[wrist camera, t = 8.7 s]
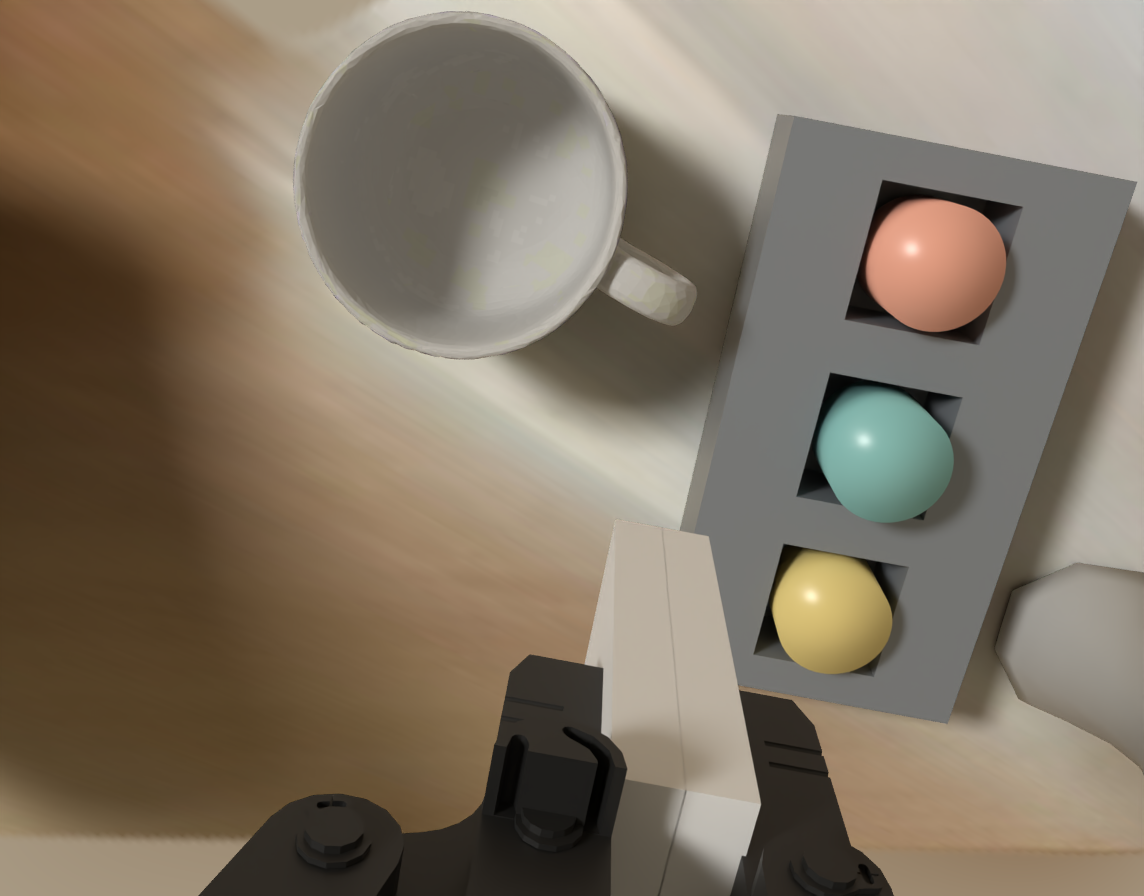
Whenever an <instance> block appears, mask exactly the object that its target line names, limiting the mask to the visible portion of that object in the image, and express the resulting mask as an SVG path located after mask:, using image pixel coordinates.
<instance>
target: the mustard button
mask: <svg viewBox="0 0 1144 896" xmlns="http://www.w3.org/2000/svg"><path fill="white" fill-rule="evenodd" d="M768 601H769V605H770V608H771V611H772V615H773V618H774V622H775V625H776V629H777V632H778V636H779V639H780V642H781V644H782V646H783V648H784V650H785V651H786V653H787V654H788V655H789V656H790V658H792V659H793V660H794V661H795V662H796V663H798V664H799V665H800V666H802V667H804V668H806V669H808V670H811V671H814V672H818V673H824V674H840V673H846V672H850V671H853V670H856V669H858V668H860V667H862V666H864V665H866V664H867V663H869V662H870V661H872V660H873V659H874V658H875V657H876V656H877V655H878V654H879V653H880V652H881V651H882V649H883V648H884V647H885V645H886V643H887V641H888V639H889V636H890V633H891V629H892V612H891V608H890V605H889V603H888V601H887V599H886V597H885V595H884V593H883V591H882V589H881V587H880V585H879V584H878V582H877V580H876V578H875V576H874V574H873V572H872V570H871V568H870V567H869V565H868V563H867V561H866V559H863V558H858V557H852V556H847V555H842V554H836V553H831V552H826V551H820V550H815V549H809V548H804V547H799V546H793V545H786V546H785V547H784V548H782V551H781V555H780V558H779V562H778V566H777V569H776V573H775V577H774V580H773V584H772V588H771V591H770V595H769V599H768Z"/></svg>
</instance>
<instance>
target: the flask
mask: <svg viewBox="0 0 1144 896" xmlns="http://www.w3.org/2000/svg"><path fill="white" fill-rule="evenodd" d="M994 649H995V651H996V653H997V655H998V657H999V659H1000V661H1001V663H1002V665H1003V668H1004V670H1005V672H1006V674H1007V676H1008V678H1009V680H1010V682H1011V684H1012V686H1013V688H1014V691H1015V693H1016V695H1017V697H1018V699H1020V700H1022V701H1024V702H1026V703H1028V704H1029V705H1031V706H1034V707H1036V708H1038V709H1040V710H1043V711H1045V712H1047V713H1049V714H1052V715H1054V716H1056V717H1058V718H1061V719H1063V720H1065V721H1067V722H1069V723H1071V724H1073V725H1075V726H1077V727H1079V728H1081V729H1083V730H1085V731H1087V732H1089V733H1091V734H1093V735H1095V736H1097V737H1099V738H1100V739H1102V740H1104V741H1106V742H1108V743H1110V744H1112V745H1113V746H1114V747H1115V748H1117V749H1118V750H1119V751H1120V752H1122V753H1123V754H1124V755H1125V756H1126V757H1128V758H1129V759H1130V760H1131V761H1133V762H1134V763H1135V764H1136V765H1138V766H1139V767H1140V769H1141V770H1142V772H1143V774H1144V573H1143V572H1136V571H1129V570H1123V569H1116V568H1109V567H1103V566H1096V565H1089V564H1083V563H1075V564H1072V565H1070V566H1068V567H1066V568H1063V569H1061V570H1059V571H1056V572H1054V573H1052V574H1049V575H1047V576H1045V577H1043V578H1040V579H1038V580H1036V581H1033V582H1031V583H1029V584H1027V585H1024V586H1022V587H1020V588H1017V589H1015V590H1013V591H1012V594H1011V597H1010V600H1009V603H1008V606H1007V610H1006V613H1005V616H1004V619H1003V623H1002V626H1001V629H1000V632H999V635H998V639H997V642H996V645H995V648H994Z"/></svg>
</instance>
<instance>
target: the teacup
mask: <svg viewBox="0 0 1144 896" xmlns="http://www.w3.org/2000/svg"><path fill="white" fill-rule="evenodd" d="M627 189H628V176H627V161H626V157H625V152H624V148H623V143H622V138H621V134H620V131H619V128H618V126H617V123H616V121H615V118H614V116H613V114H612V112H611V110H610V108H609V106H608V105H607V103H606V101H605V99H604V97H603V95H602V94H601V92H600V90H599V88H598V87H597V85H596V84H595V83H594V81H593V80H592V79H591V77H590V76H589V75H588V74H587V73H586V72H585V71H584V70H583V69H582V68H581V67H580V65H579V64H578V63H577V62H576V61H575V60H574V59H573V58H572V57H571V56H570V55H568V54H567V53H566V52H565V51H564V50H563V49H561V48H560V47H559V46H557V45H556V44H555V43H553V42H552V41H551V40H549V39H548V38H546V37H545V36H543V35H542V34H540V33H539V32H537V31H535V30H533V29H531V28H529V27H527V26H524V25H522V24H519V23H517V22H514V21H511V20H507V19H504V18H500V17H497V16H493V15H489V14H483V13H476V12H453V11H447V12H440V13H434V14H428V15H424V16H419V17H415V18H411V19H407V20H405V21H402V22H400V23H397V24H394V25H392V26H389V27H387V28H385V29H384V30H382V31H381V32H379V33H377V34H376V35H374V36H372V37H371V38H369V39H368V40H367V41H365V42H364V43H363V44H361V45H360V46H359V47H357V48H356V49H355V50H353V51H352V52H351V53H350V54H349V56H348V57H347V58H346V59H345V60H344V61H343V62H342V63H341V64H340V65H339V66H338V67H337V68H336V69H335V70H334V71H333V72H332V74H331V75H330V76H329V78H328V79H327V81H326V82H325V83H324V85H323V86H322V88H321V89H320V90H319V92H318V94H317V95H316V97H315V99H314V100H313V102H312V104H311V106H310V108H309V110H308V113H307V116H306V118H305V121H304V124H303V127H302V130H301V133H300V137H299V141H298V145H297V149H296V155H295V161H294V175H293V190H294V200H295V207H296V212H297V218H298V224H299V226H300V229H301V233H302V238H303V240H304V242H305V244H306V247H307V250H308V253H309V255H310V258H311V260H312V262H313V264H314V266H315V267H316V269H317V271H318V273H319V274H320V276H321V278H322V279H323V281H324V282H325V284H326V285H327V287H328V288H329V289H330V291H331V292H332V293H333V295H334V296H335V298H336V299H337V300H338V301H339V302H340V303H341V304H342V305H343V306H344V307H345V308H346V309H347V310H348V312H350V313H351V314H352V315H353V316H354V317H355V318H357V319H358V320H359V321H360V322H361V323H362V324H364V325H366V326H367V327H369V328H370V329H371V330H372V331H374V332H375V333H377V334H378V335H380V336H382V337H383V338H385V339H386V340H388V341H390V342H391V343H395V344H398V345H400V346H402V347H404V348H406V349H411V350H416V351H418V352H420V353H424V354H428V355H431V356H435V357H440V356H441V357H444V358H450V359H478V358H484V357H489V356H495V355H503V354H506V353H510V352H513V351H516V350H518V349H521V348H524V347H526V346H528V345H530V344H532V343H534V342H536V341H539V340H541V339H543V338H544V337H546V336H547V335H549V334H550V333H552V332H553V331H555V330H556V329H557V328H559V327H560V326H561V325H562V324H564V323H565V322H566V321H567V320H568V319H569V318H570V317H571V316H573V315H574V314H575V313H576V312H577V310H578V309H579V308H580V307H581V306H582V305H583V303H584V302H585V301H586V300H587V299H588V298H589V297H590V295H591V294H592V293H593V291H594V290H595V289H596V288H598V289H599V290H601V291H602V292H604V293H605V294H607V295H608V296H610V297H611V298H613V299H615V300H617V301H618V302H620V303H622V304H623V305H625V306H627V307H628V308H630V309H632V310H634V311H636V312H638V313H640V314H641V315H643V316H645V317H647V318H649V319H652V320H655V321H657V322H660V323H662V324H666V325H670V326H675V325H678V324H680V323H682V322H683V321H684V320H685V319H686V318H687V317H688V316H689V314H690V313H691V311H692V308H693V306H694V304H695V301H696V299H697V289H696V286H695V285H694V284H693V283H692V282H690V281H689V280H688V279H687V278H686V277H684V276H683V275H681V274H679V273H678V272H676V271H675V270H673V269H672V268H670V267H669V266H667V265H666V264H664V263H662V262H661V261H659V260H657V259H655V258H653V257H651V256H650V255H649V254H647V253H645V252H643V251H642V250H640V249H638V248H636V247H634V246H632V245H631V244H629V243H628V242H626V241H625V240H623V239H622V238H620V235H621V231H622V227H623V223H624V217H625V212H626V205H627Z"/></svg>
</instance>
